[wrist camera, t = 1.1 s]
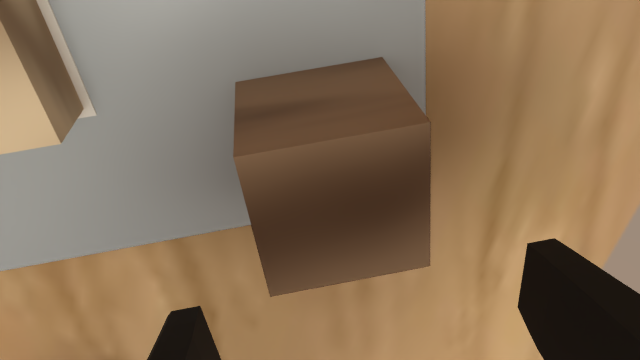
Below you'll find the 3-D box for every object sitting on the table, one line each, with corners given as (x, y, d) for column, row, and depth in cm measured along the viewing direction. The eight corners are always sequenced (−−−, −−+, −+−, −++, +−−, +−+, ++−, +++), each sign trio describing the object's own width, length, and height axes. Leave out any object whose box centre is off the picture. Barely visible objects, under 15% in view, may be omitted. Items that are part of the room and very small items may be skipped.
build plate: (421, 184, 20) (426, 193, 20) (-65, 274, 19) (-75, 286, 19) (417, -262, 12) (425, -268, 12) (-400, -145, 11) (-433, -146, 11)
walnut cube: (388, 178, 19) (430, 266, 15) (263, 201, 19) (270, 296, 15) (382, 57, 16) (430, 122, 12) (235, 82, 16) (233, 157, 12)
